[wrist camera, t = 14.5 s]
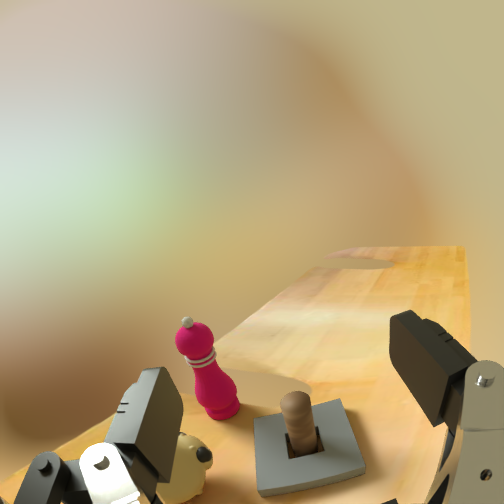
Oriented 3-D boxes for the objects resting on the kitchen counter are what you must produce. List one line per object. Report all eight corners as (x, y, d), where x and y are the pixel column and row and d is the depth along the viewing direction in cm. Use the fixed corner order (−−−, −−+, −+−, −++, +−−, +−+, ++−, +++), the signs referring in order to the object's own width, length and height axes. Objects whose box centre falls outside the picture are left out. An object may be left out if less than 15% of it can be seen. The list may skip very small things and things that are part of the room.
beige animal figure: (237, 479, 32) (213, 441, 29) (176, 525, 24) (136, 495, 21) (196, 448, 38) (170, 407, 36) (141, 486, 31) (105, 449, 28)
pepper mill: (197, 412, 47) (154, 324, 42) (222, 390, 52) (189, 303, 47) (223, 427, 42) (181, 334, 37) (250, 402, 47) (218, 309, 42)
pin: (295, 462, 33) (281, 415, 29) (292, 444, 36) (278, 394, 33) (320, 457, 32) (312, 408, 29) (316, 439, 36) (307, 388, 33)
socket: (261, 496, 28) (257, 490, 27) (256, 427, 41) (253, 418, 41) (364, 473, 27) (365, 465, 27) (340, 407, 41) (339, 398, 40)
